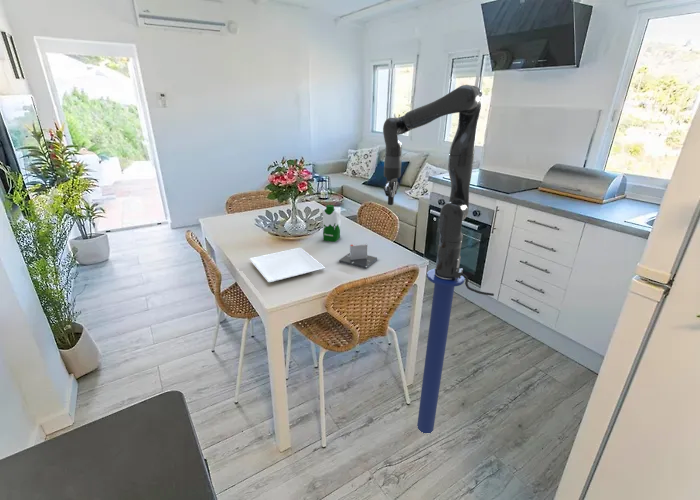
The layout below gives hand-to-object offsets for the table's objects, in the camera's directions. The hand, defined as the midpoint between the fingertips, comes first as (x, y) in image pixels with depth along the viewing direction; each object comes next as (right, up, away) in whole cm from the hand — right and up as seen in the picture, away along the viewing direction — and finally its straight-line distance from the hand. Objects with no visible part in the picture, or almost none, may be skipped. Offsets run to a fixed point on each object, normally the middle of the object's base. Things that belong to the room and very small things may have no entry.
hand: (390, 204), depth 159 cm
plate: (-47, -29, -2) cm, 55 cm away
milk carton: (-29, -15, +32) cm, 45 cm away
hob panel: (-15, -26, +5) cm, 31 cm away
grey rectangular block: (-15, -25, +5) cm, 29 cm away
